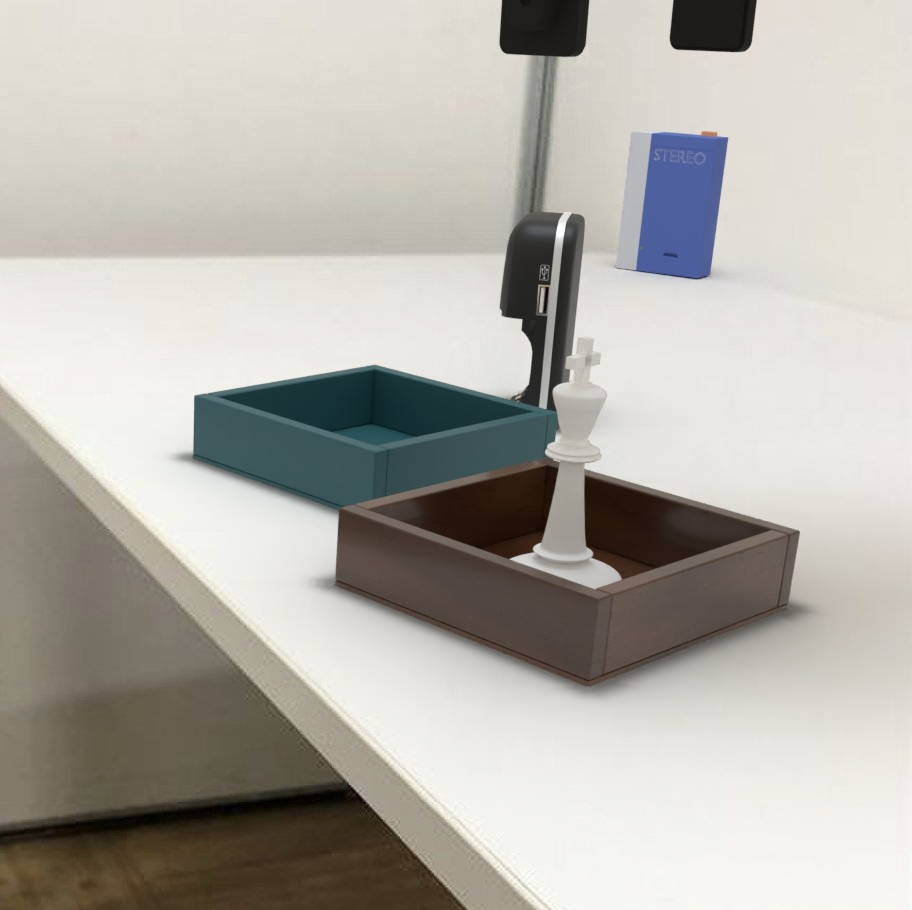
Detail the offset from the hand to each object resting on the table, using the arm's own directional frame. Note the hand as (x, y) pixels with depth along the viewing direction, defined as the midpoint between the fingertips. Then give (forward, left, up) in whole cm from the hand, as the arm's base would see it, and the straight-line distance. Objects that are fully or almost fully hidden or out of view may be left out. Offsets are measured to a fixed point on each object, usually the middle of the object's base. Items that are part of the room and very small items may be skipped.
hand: (629, 52), depth 57 cm
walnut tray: (+1, 0, -21) cm, 21 cm away
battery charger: (-21, -20, -21) cm, 36 cm away
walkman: (-73, -48, -21) cm, 90 cm away
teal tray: (-6, -17, -21) cm, 28 cm away
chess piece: (+1, 0, -20) cm, 20 cm away
